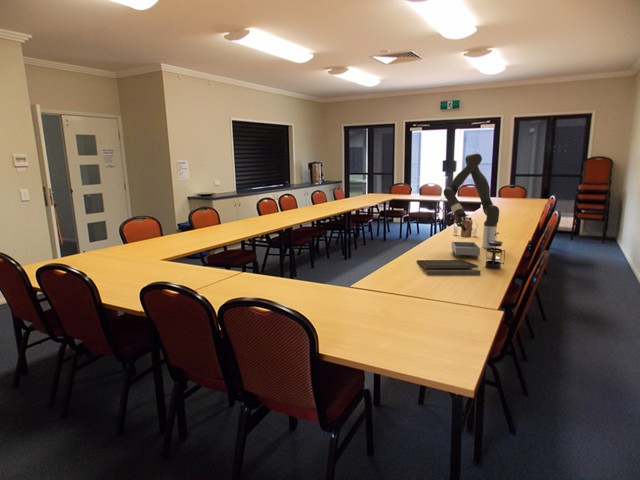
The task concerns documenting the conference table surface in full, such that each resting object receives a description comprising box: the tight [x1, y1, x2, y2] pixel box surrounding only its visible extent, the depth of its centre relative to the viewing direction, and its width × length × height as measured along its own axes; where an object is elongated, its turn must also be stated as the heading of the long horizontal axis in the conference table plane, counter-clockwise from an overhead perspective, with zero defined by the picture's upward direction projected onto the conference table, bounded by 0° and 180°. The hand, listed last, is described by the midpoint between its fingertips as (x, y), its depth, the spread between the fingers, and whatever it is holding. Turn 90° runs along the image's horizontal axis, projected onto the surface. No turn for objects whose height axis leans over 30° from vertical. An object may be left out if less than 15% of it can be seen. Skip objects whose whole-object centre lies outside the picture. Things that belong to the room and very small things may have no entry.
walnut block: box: [460, 219, 473, 239], centre depth 290 cm, size 5×5×12 cm
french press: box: [484, 231, 506, 270], centre depth 261 cm, size 12×9×23 cm
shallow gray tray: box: [451, 241, 481, 260], centre depth 293 cm, size 16×20×8 cm
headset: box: [453, 215, 478, 237], centre depth 362 cm, size 20×7×18 cm, turn 64°
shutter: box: [416, 259, 481, 276], centre depth 263 cm, size 32×7×31 cm
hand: (468, 230), depth 288 cm, fingers closed on walnut block, 5 cm apart
